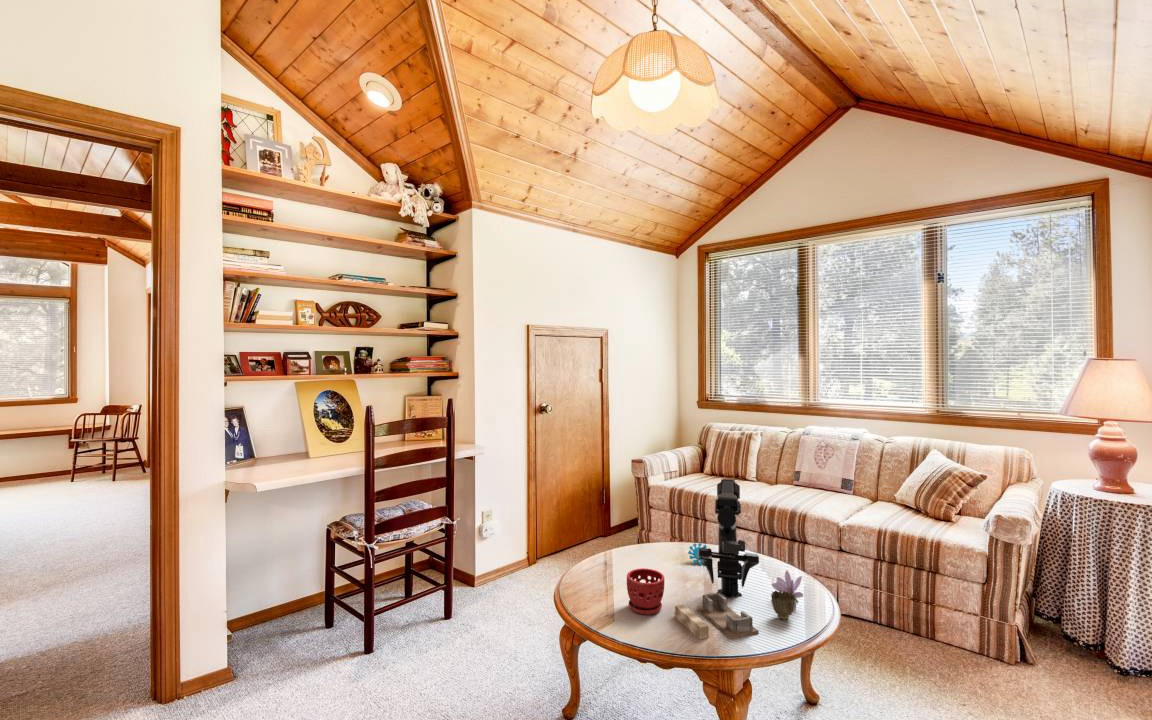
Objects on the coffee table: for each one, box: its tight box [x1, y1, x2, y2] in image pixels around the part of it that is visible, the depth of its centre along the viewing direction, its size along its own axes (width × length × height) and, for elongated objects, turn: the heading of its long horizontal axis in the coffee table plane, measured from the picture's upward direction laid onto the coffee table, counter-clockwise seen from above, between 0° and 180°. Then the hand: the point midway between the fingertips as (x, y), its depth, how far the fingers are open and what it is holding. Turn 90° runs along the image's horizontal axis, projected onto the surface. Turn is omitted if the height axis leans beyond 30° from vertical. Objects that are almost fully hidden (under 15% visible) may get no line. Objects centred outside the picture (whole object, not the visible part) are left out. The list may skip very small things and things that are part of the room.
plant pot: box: [626, 567, 665, 615], centre depth 188 cm, size 13×13×12 cm
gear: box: [687, 542, 713, 566], centre depth 234 cm, size 11×6×10 cm
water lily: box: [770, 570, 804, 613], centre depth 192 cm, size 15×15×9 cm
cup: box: [770, 590, 795, 621], centre depth 180 cm, size 8×7×8 cm
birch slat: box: [674, 604, 710, 640], centre depth 175 cm, size 16×3×4 cm, turn 18°
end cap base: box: [697, 592, 760, 639], centre depth 179 cm, size 21×10×5 cm, turn 16°
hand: (727, 585), depth 171 cm, fingers open, 9 cm apart
